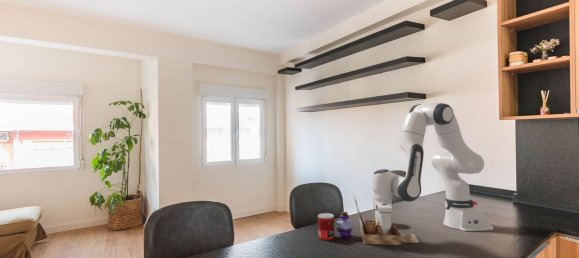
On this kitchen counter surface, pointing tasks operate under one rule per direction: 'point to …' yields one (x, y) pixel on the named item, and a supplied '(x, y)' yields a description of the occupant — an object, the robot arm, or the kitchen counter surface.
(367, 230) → the pot far
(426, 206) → the kitchen counter surface
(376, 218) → the teacup with lid
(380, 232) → the pot near
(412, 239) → the cork mat
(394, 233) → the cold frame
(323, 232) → the canned food
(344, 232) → the potion bottle
